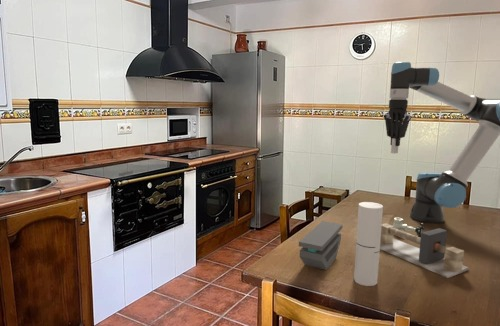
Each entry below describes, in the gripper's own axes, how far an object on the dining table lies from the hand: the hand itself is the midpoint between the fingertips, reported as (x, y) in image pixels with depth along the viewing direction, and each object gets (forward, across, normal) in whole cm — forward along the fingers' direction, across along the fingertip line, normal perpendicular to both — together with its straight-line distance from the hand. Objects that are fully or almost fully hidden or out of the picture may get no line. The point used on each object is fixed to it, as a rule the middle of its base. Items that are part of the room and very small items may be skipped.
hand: (394, 153), depth 164 cm
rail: (+34, +27, -18) cm, 47 cm away
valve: (+35, +10, -1) cm, 36 cm away
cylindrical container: (+35, +31, -49) cm, 68 cm away
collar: (+33, +33, -18) cm, 50 cm away
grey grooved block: (+35, +13, -52) cm, 64 cm away
